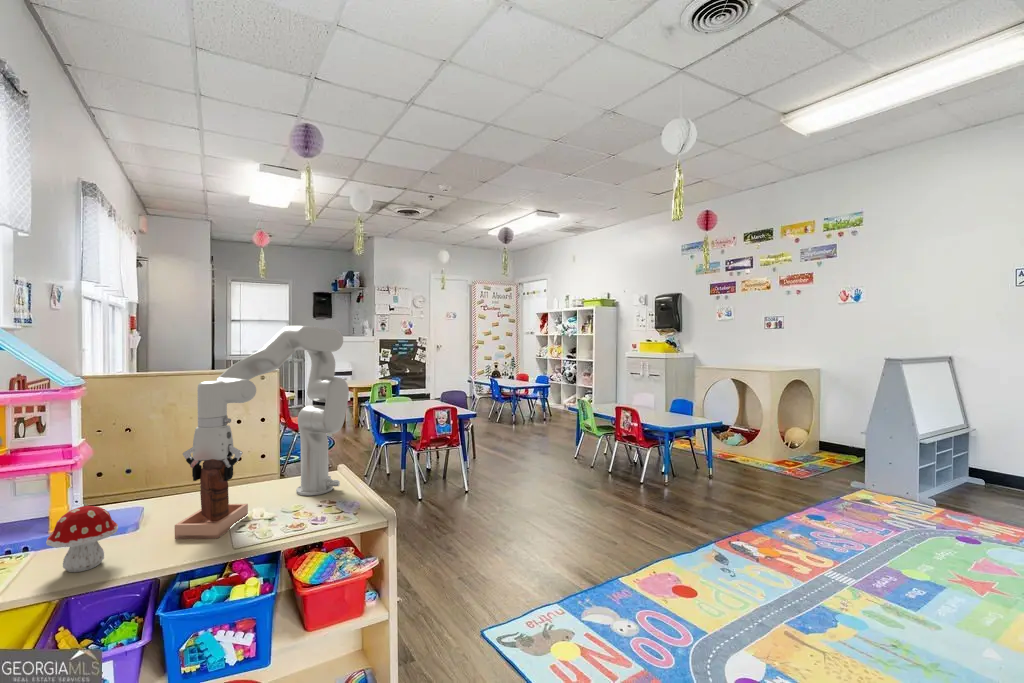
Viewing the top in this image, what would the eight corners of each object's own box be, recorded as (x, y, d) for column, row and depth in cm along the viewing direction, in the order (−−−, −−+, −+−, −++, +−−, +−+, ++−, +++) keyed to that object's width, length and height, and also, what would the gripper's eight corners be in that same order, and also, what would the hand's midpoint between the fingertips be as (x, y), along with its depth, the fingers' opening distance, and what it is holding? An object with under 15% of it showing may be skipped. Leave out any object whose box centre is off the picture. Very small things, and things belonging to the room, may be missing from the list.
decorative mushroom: (60, 559, 127) (59, 502, 127) (126, 550, 133) (126, 494, 132) (34, 585, 114) (33, 521, 114) (109, 573, 120) (108, 512, 120)
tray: (247, 516, 157) (247, 503, 157) (217, 538, 140) (217, 524, 140) (209, 516, 157) (209, 503, 157) (174, 539, 140) (174, 525, 140)
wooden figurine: (233, 517, 147) (233, 457, 147) (209, 523, 142) (209, 461, 142) (219, 507, 155) (220, 450, 155) (196, 513, 150) (196, 454, 150)
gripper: (248, 420, 152) (248, 475, 152) (190, 420, 151) (191, 476, 152) (235, 424, 144) (235, 483, 145) (174, 424, 144) (175, 483, 144)
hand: (212, 479), depth 148 cm, fingers closed on wooden figurine, 8 cm apart
